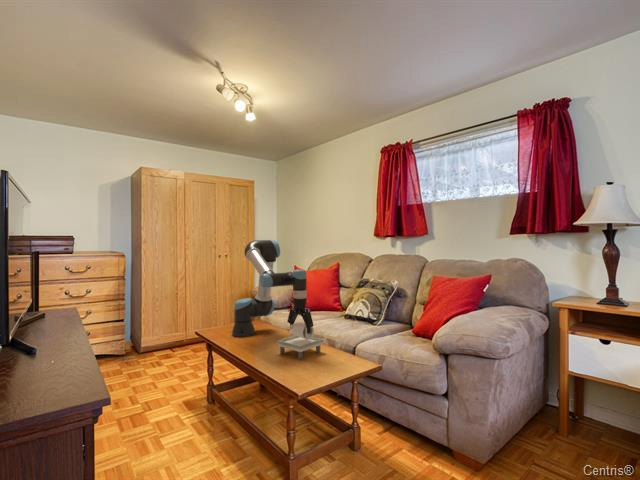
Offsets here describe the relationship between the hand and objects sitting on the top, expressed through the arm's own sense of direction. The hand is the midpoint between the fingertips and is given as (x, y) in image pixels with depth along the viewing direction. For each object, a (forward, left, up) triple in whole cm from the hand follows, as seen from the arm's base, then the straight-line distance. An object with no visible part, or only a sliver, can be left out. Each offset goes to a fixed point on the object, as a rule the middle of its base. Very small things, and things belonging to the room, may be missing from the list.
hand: (300, 337), depth 190 cm
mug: (0, 0, -1) cm, 1 cm away
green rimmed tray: (0, 0, -9) cm, 9 cm away
